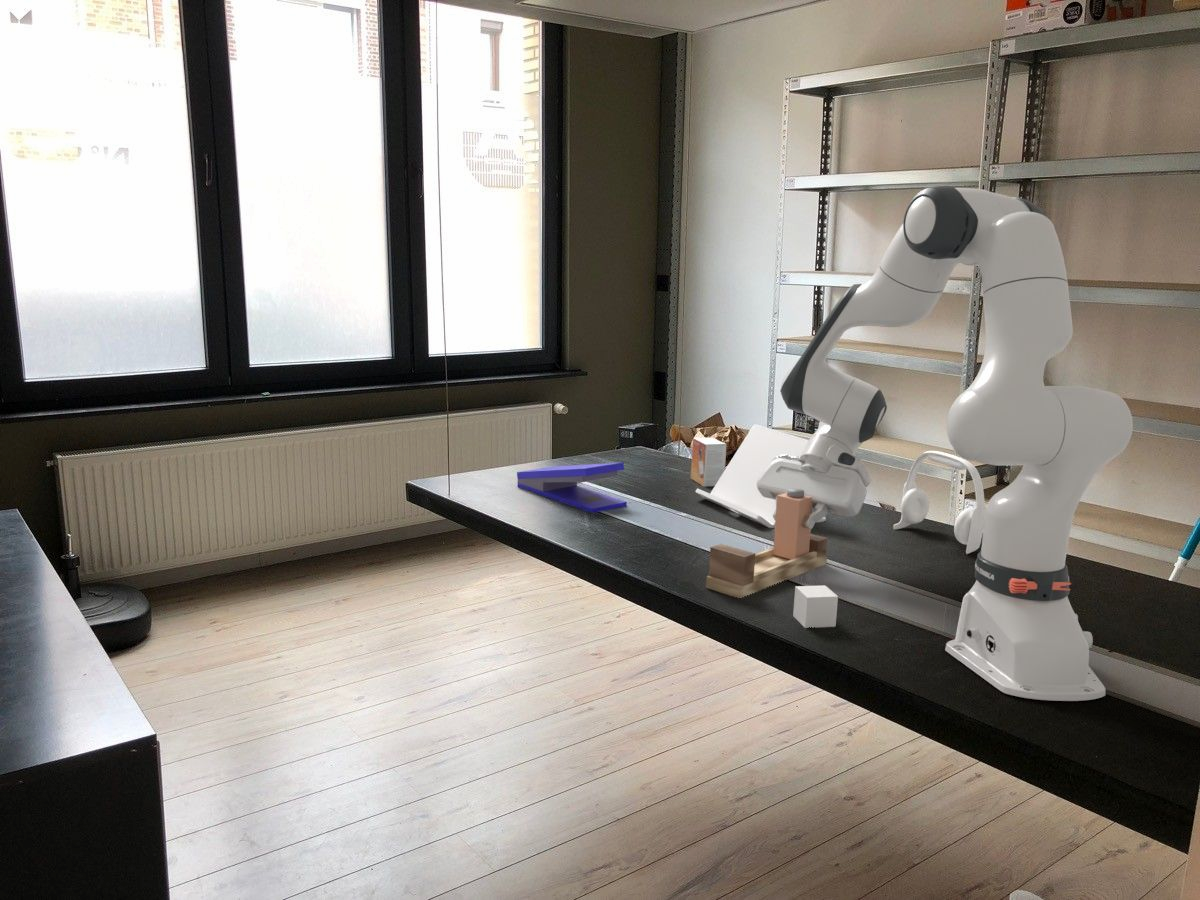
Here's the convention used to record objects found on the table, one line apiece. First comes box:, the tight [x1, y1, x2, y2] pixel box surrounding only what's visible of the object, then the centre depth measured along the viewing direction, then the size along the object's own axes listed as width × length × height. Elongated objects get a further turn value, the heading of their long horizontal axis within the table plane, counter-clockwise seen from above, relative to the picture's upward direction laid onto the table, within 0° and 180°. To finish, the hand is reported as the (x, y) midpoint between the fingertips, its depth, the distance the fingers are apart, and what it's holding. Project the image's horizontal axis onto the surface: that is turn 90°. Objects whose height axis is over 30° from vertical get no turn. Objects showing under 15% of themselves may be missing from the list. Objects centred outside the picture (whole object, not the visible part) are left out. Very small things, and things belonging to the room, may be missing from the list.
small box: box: [690, 437, 727, 488], centre depth 237 cm, size 8×6×10 cm
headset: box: [892, 450, 987, 555], centre depth 194 cm, size 20×7×18 cm, turn 25°
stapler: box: [516, 462, 628, 514], centre depth 221 cm, size 12×28×10 cm, turn 40°
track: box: [705, 533, 828, 599], centre depth 171 cm, size 27×7×7 cm, turn 136°
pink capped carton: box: [772, 488, 813, 560], centre depth 174 cm, size 5×5×12 cm
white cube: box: [792, 584, 839, 629], centre depth 150 cm, size 5×5×5 cm
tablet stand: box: [695, 423, 827, 529], centre depth 212 cm, size 18×25×17 cm
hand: (791, 523), depth 174 cm, fingers closed on pink capped carton, 5 cm apart
